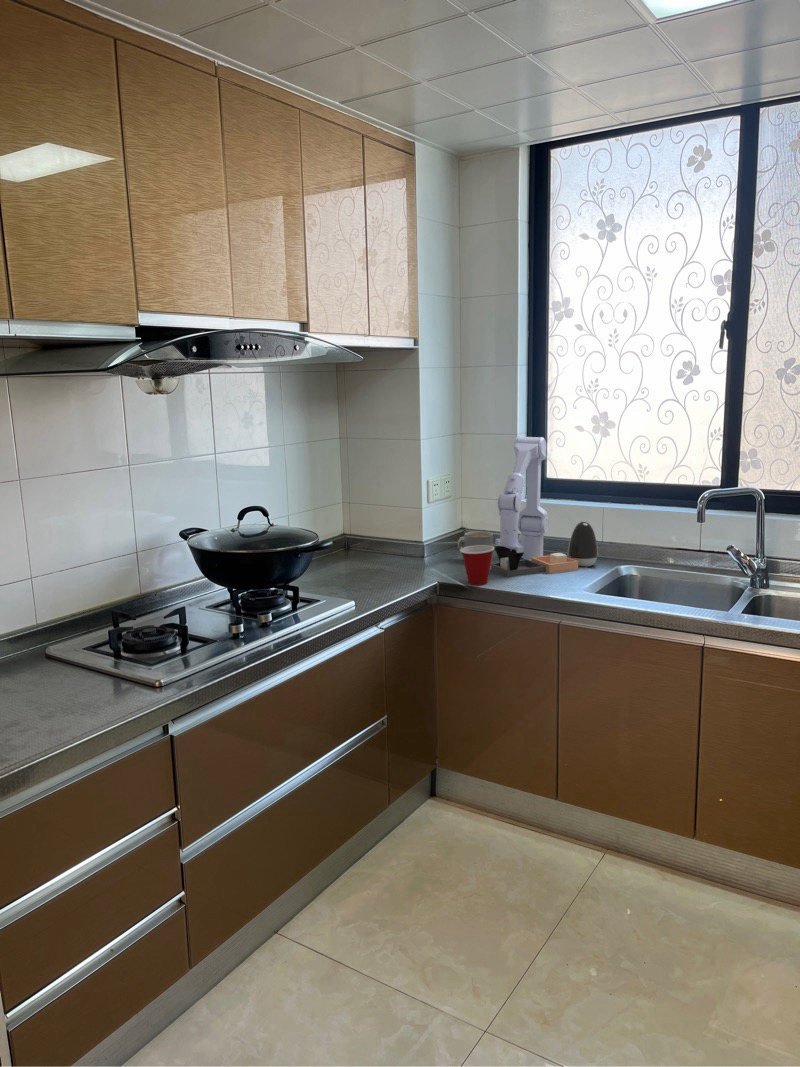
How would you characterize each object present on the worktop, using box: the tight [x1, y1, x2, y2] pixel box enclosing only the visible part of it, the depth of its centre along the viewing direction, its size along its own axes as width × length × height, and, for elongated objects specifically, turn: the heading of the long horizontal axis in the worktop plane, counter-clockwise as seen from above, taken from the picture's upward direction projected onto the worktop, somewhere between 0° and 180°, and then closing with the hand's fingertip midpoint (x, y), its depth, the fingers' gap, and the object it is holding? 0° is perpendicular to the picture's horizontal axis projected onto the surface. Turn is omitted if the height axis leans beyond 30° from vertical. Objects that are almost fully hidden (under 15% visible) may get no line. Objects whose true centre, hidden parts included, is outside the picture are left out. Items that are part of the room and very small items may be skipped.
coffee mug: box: [457, 530, 494, 563], centre depth 283 cm, size 13×10×10 cm
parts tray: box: [490, 559, 546, 578], centre depth 267 cm, size 11×14×3 cm
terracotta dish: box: [530, 554, 579, 575], centre depth 270 cm, size 11×11×4 cm
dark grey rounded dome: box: [567, 521, 599, 568], centre depth 274 cm, size 10×10×15 cm
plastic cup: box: [459, 545, 495, 586], centre depth 252 cm, size 11×11×12 cm
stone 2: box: [549, 552, 568, 564], centre depth 270 cm, size 4×4×4 cm
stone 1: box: [499, 557, 510, 571], centre depth 265 cm, size 4×4×4 cm
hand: (508, 569), depth 265 cm, fingers open, 6 cm apart
